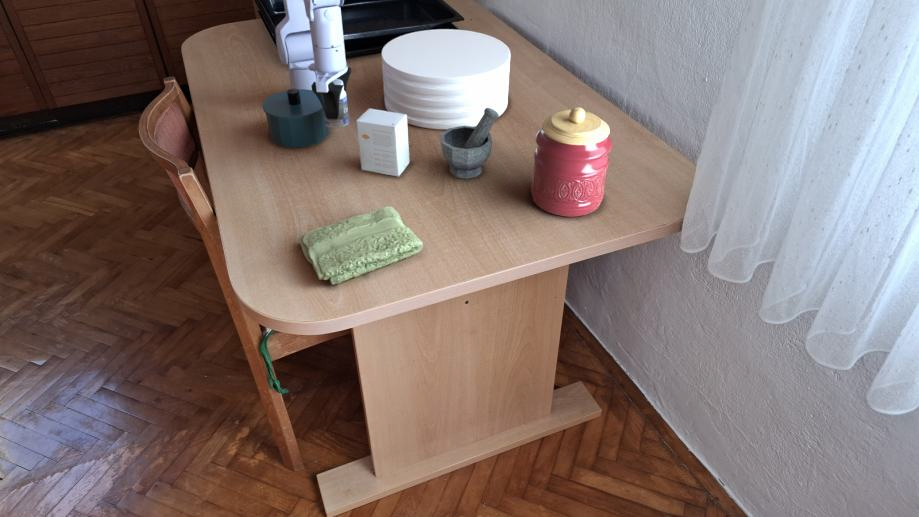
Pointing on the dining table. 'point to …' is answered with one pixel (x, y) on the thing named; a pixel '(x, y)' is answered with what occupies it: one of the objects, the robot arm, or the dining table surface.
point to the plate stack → (445, 77)
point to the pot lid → (292, 104)
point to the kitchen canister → (571, 163)
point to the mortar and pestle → (468, 146)
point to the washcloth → (359, 245)
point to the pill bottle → (343, 110)
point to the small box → (383, 142)
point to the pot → (298, 130)
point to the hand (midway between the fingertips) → (336, 111)
